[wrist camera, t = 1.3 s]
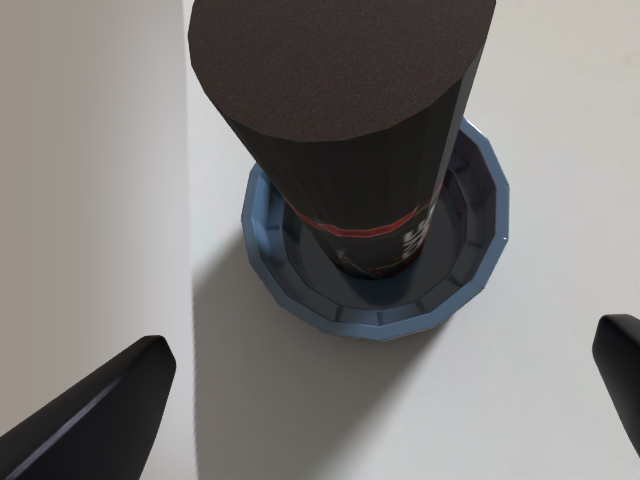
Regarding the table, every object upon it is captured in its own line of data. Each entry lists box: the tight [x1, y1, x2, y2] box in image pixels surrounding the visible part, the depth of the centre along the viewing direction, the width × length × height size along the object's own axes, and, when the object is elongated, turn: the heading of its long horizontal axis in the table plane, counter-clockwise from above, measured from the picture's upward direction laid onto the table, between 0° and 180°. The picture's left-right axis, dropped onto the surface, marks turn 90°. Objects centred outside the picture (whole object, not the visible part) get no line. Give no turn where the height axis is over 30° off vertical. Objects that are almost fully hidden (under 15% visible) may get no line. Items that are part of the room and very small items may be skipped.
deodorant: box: [188, 0, 496, 280], centre depth 14 cm, size 6×6×15 cm
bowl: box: [241, 117, 510, 342], centre depth 20 cm, size 12×12×4 cm
